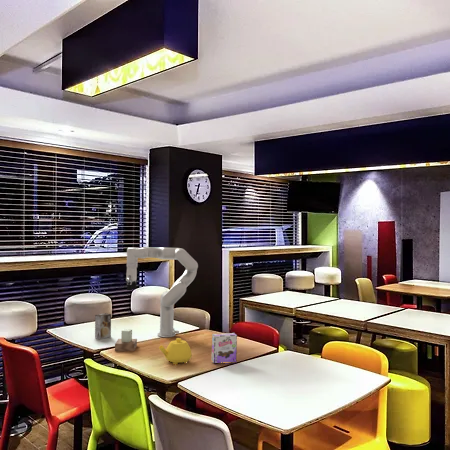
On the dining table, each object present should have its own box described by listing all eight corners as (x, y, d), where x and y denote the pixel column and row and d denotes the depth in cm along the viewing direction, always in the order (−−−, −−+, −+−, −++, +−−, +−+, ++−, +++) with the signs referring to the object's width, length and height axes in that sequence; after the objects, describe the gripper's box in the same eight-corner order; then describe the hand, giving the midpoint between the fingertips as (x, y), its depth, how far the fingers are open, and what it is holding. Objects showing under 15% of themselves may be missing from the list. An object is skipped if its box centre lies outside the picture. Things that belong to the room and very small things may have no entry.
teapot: (163, 368, 251) (164, 344, 251) (153, 361, 264) (153, 337, 265) (196, 364, 261) (196, 340, 261) (184, 357, 275) (184, 334, 275)
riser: (136, 346, 297) (137, 338, 297) (134, 351, 285) (134, 343, 285) (118, 346, 296) (118, 338, 296) (114, 351, 284) (115, 343, 284)
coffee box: (105, 335, 323) (105, 312, 323) (111, 336, 319) (111, 314, 319) (94, 337, 316) (95, 314, 316) (100, 339, 312) (100, 315, 312)
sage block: (131, 340, 293) (132, 329, 293) (128, 342, 288) (128, 331, 288) (124, 339, 294) (124, 328, 294) (121, 341, 289) (121, 330, 289)
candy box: (213, 364, 261) (214, 335, 261) (211, 361, 267) (211, 333, 267) (236, 363, 265) (237, 334, 265) (233, 360, 270) (234, 332, 270)
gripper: (130, 264, 331) (130, 287, 331) (122, 266, 313) (122, 290, 313) (140, 264, 330) (140, 288, 330) (133, 266, 313) (132, 291, 312)
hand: (131, 289), depth 321 cm, fingers open, 9 cm apart
